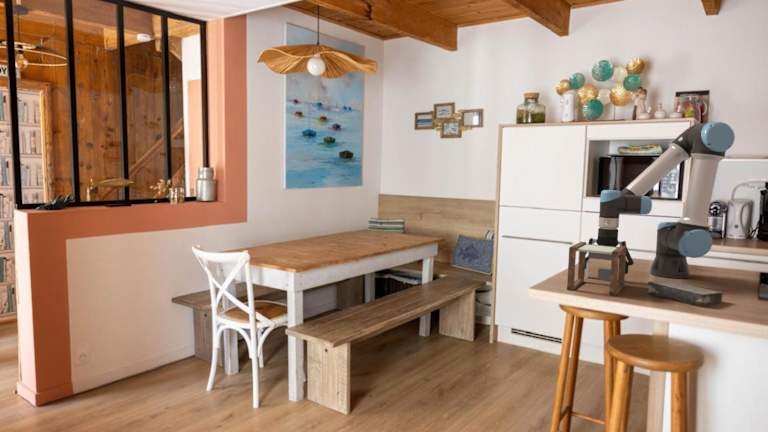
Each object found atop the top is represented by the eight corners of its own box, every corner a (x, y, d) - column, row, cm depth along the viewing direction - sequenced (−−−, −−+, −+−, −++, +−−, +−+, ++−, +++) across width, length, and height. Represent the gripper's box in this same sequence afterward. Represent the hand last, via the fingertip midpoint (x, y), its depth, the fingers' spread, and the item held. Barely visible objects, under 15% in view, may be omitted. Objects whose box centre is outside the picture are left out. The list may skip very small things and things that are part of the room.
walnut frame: (623, 286, 204) (626, 245, 202) (615, 296, 188) (618, 252, 186) (578, 280, 213) (580, 241, 211) (567, 289, 197) (569, 247, 195)
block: (701, 308, 175) (703, 293, 175) (646, 295, 192) (647, 281, 192) (723, 304, 182) (724, 289, 182) (667, 291, 199) (669, 278, 199)
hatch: (620, 258, 208) (621, 244, 207) (611, 267, 190) (612, 251, 190) (588, 255, 214) (589, 242, 214) (576, 263, 197) (577, 248, 196)
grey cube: (613, 279, 217) (613, 267, 216) (610, 281, 213) (611, 269, 212) (600, 278, 220) (600, 266, 219) (597, 280, 215) (598, 268, 215)
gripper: (574, 226, 218) (571, 276, 220) (640, 231, 204) (636, 285, 206) (578, 224, 224) (575, 273, 226) (643, 229, 211) (639, 282, 213)
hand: (604, 279), depth 216 cm, fingers open, 13 cm apart
